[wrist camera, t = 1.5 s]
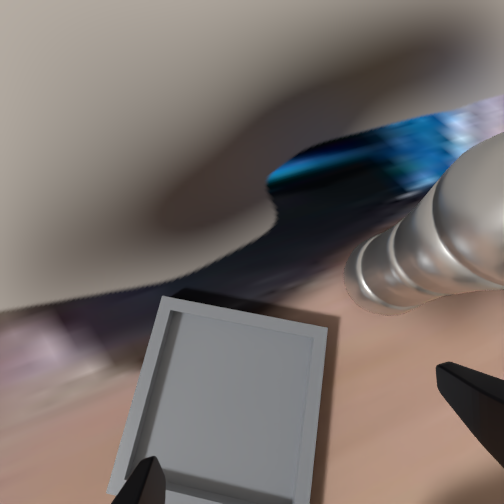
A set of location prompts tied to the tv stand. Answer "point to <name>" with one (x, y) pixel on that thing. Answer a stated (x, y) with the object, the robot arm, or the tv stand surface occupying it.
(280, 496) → the grey tray
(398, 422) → the tv stand surface
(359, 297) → the plastic bottle
